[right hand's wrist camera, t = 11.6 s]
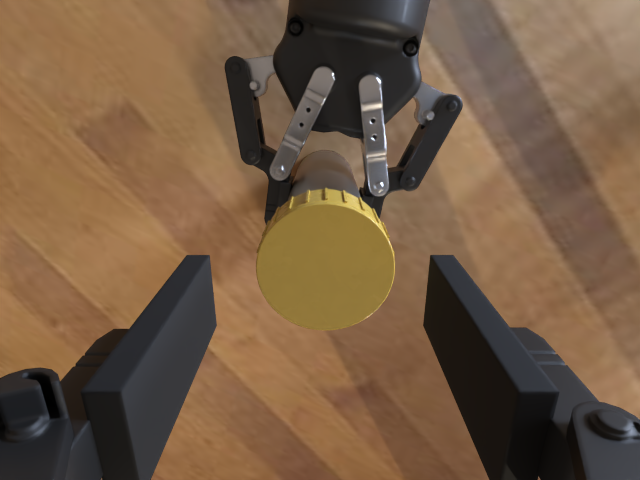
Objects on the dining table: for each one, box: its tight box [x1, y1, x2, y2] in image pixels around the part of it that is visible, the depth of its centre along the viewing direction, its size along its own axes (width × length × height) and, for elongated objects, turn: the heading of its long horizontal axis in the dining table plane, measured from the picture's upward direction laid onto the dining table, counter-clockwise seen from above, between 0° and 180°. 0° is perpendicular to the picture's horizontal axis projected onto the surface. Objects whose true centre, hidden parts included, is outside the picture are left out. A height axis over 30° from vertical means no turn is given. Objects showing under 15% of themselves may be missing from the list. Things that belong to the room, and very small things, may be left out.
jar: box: [288, 150, 361, 201], centre depth 25 cm, size 4×4×17 cm
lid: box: [256, 188, 395, 330], centre depth 17 cm, size 6×6×2 cm
